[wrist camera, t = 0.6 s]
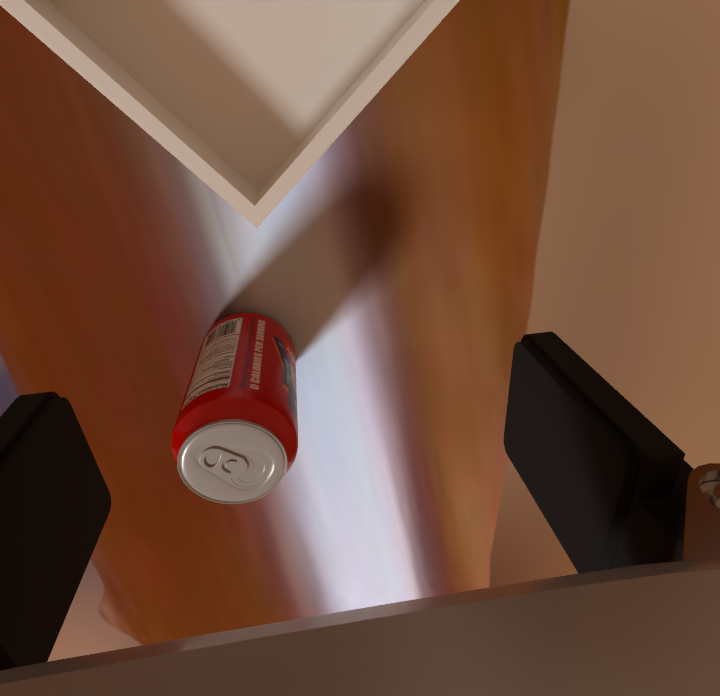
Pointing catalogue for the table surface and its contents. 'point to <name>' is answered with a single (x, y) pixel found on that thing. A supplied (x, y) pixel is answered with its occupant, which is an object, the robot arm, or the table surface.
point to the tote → (237, 76)
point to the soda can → (239, 411)
